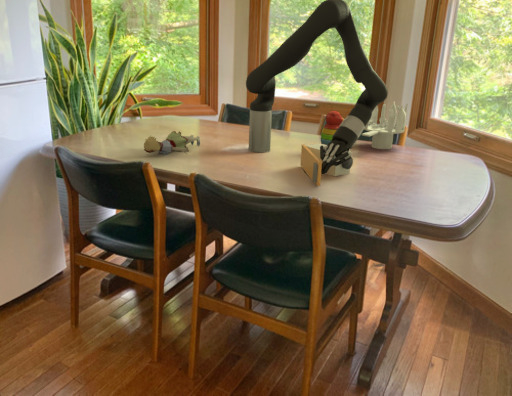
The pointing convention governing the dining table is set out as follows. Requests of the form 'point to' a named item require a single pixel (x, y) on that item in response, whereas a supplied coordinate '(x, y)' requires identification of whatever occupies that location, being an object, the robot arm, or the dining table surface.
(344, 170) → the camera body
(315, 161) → the side door
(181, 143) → the figurine
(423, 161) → the dining table surface
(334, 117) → the stacking bear
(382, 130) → the decorative object
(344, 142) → the robot arm
